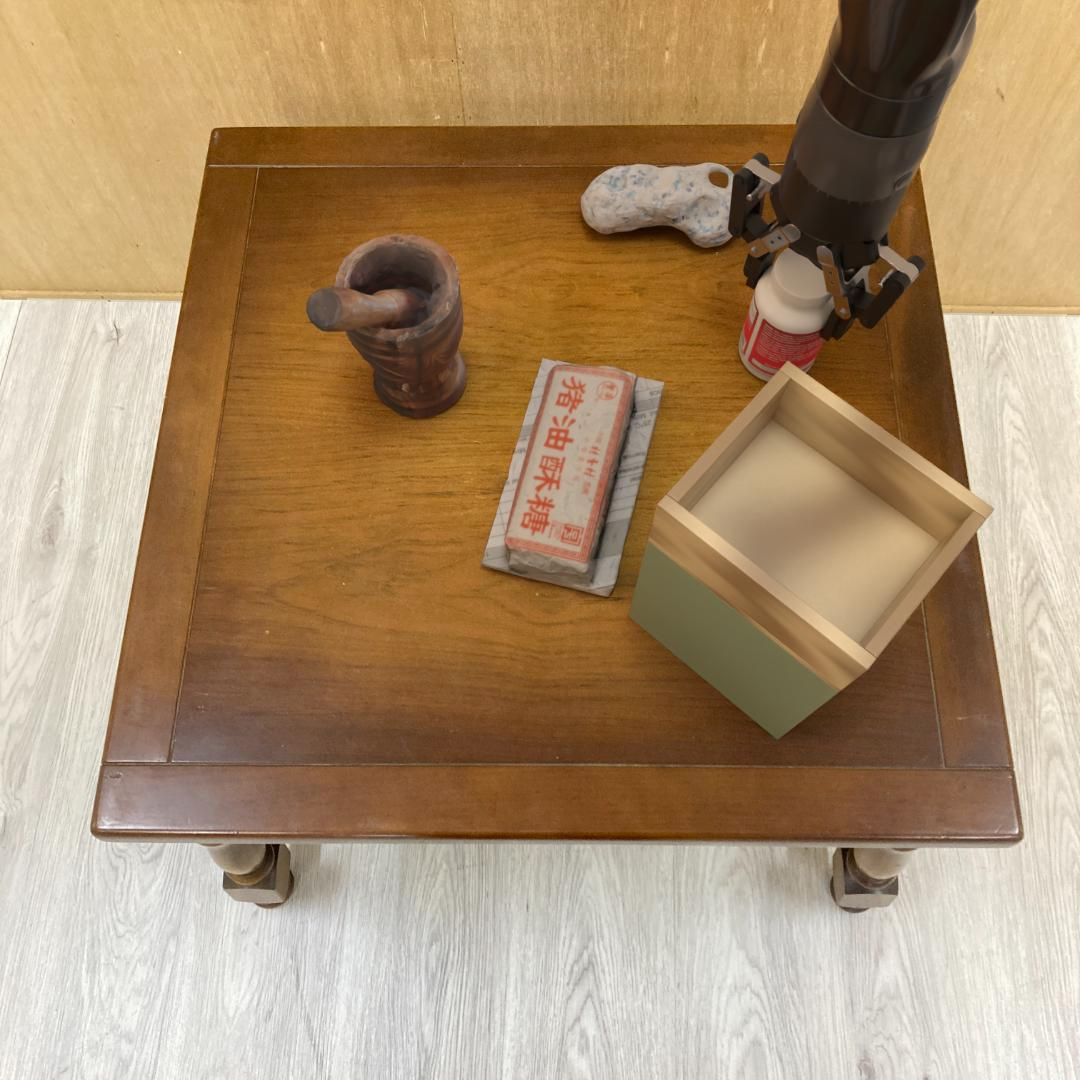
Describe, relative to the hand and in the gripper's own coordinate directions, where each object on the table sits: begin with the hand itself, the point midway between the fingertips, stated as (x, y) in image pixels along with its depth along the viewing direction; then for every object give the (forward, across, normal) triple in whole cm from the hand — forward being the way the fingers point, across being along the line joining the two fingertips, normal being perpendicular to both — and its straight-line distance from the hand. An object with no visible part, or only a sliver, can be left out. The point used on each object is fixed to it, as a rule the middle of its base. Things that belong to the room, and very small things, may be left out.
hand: (793, 305), depth 76 cm
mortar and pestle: (+7, +19, +22) cm, 30 cm away
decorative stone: (+7, +15, -4) cm, 17 cm away
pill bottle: (+7, 0, 0) cm, 7 cm away
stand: (+7, -12, +19) cm, 23 cm away
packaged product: (+7, +5, +19) cm, 21 cm away
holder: (-9, -12, +19) cm, 24 cm away
